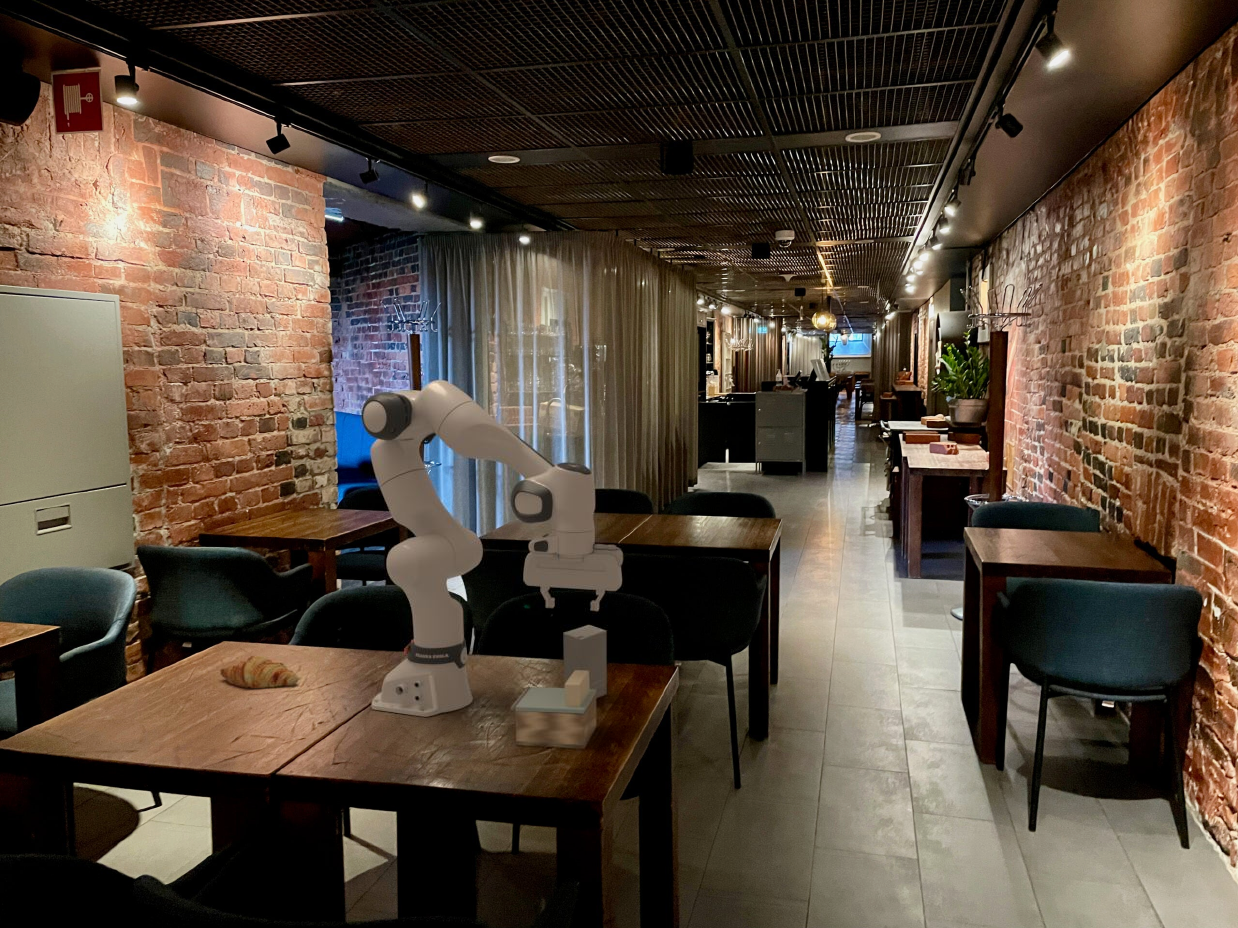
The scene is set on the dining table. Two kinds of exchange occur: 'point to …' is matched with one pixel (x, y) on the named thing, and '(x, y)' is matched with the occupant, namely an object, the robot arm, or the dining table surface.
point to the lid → (548, 701)
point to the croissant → (259, 674)
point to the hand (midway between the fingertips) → (572, 608)
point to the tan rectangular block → (577, 688)
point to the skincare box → (587, 656)
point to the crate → (556, 728)
